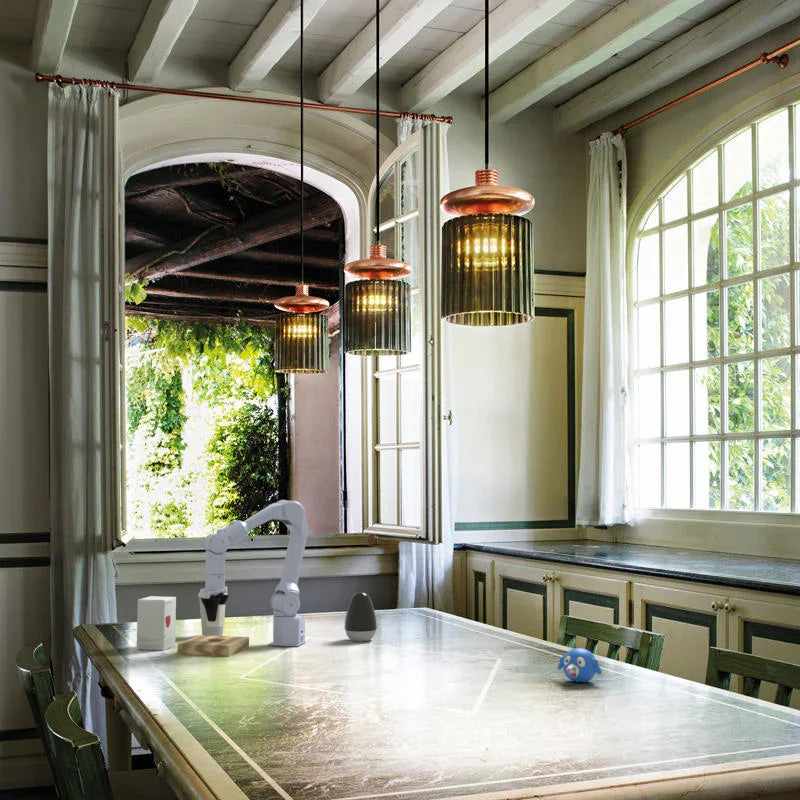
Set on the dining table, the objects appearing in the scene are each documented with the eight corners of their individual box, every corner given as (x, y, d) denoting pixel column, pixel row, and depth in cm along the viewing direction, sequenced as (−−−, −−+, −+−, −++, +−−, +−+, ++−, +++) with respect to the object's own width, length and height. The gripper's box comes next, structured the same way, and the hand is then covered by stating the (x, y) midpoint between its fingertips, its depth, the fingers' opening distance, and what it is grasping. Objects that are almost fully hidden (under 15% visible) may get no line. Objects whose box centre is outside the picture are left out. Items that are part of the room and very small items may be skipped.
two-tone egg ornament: (378, 638, 331) (378, 589, 332) (374, 643, 320) (374, 593, 321) (347, 637, 332) (347, 589, 333) (342, 642, 321) (342, 593, 322)
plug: (224, 624, 310) (224, 599, 310) (219, 626, 306) (219, 601, 306) (212, 624, 311) (212, 599, 311) (206, 626, 307) (207, 600, 307)
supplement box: (163, 651, 308) (164, 600, 309) (135, 650, 310) (136, 599, 311) (176, 645, 317) (177, 596, 318) (149, 644, 318) (149, 595, 319)
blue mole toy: (544, 684, 259) (544, 650, 259) (565, 676, 268) (564, 643, 269) (589, 690, 252) (589, 655, 252) (608, 682, 262) (608, 648, 262)
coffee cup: (224, 638, 330) (224, 591, 331) (194, 638, 330) (195, 591, 331) (229, 633, 339) (230, 587, 340) (200, 633, 340) (201, 587, 341)
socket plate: (249, 647, 314) (249, 637, 314) (229, 656, 298) (229, 645, 299) (199, 645, 318) (199, 635, 318) (177, 654, 302) (177, 643, 302)
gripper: (212, 571, 317) (211, 616, 316) (192, 576, 303) (192, 623, 302) (233, 572, 316) (233, 617, 315) (215, 576, 302) (214, 624, 301)
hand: (214, 620), depth 308 cm, fingers closed on plug, 4 cm apart
